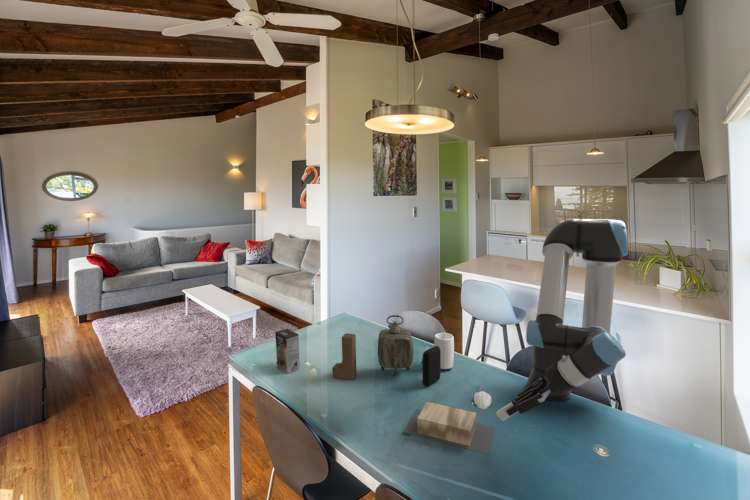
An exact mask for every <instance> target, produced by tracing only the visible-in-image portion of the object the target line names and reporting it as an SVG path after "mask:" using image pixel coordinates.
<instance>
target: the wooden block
mask: <svg viewBox="0 0 750 500" xmlns="http://www.w3.org/2000/svg"><path fill="white" fill-rule="evenodd" d="M356 338H357V337H356V334H354V333H349V332H348V333H344V334H343V335H342V337H341V355H342V356H341V360H342V361H341V362H336V363H335V364H334V365H333V366H332V367H331V368H332V370H331V371H332V378H334V379H339V380H340V379H341V380H348V381H354V379H355V378H356V377H357V347H356V346H357V345H356V344H357V342H356V341H357V339H356Z"/></svg>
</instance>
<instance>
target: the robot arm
mask: <svg viewBox="0 0 750 500" xmlns="http://www.w3.org/2000/svg"><path fill="white" fill-rule="evenodd" d="M628 246H629V244H628V232H627V226H626V224H625V222H624V221H622V220H620V219H619V220H618V219H609V218H608V219H607V218H606V219H605V218H604V219H603V218H601V219H599V218H597V219H596V218H592V219H589V218H584V219H583V218H570V219H566V220H565V221H562V222H560V223H559V224H557V225H556V226H555V227H554V228H553V229H551V230H550V232H549V233H548V234H547V236H546V237H545V239H544V242H543V244H542V252H541V253H542V255H543V256H544V259H543V260H544V261H543V265H542V266H543V268H542V275H541V281H540V282H541V283H540V289H539V295H538V303H537V310H536V318H535V320H528V322H527V325H526V332H525V333H526V335H525V337H526V338H525V339H526V343H527V344H528V345H530V346H532V347H533V361H532V369H531V371H530V374H529V376H528V379H527V382H526V388H524V389H522V391H520V392H519V393H518V394H517V395H516V396H517V397H515V398H514V400H512V401H511V402H509V403H508V404H506V405H504V406H503V407H501V408H499V409H498V410H496V414H495V415H496V416H497V417H498V418H499V420H500V421H501V422H504V421H506V420H507V419H509V418H510V417H513V415H515V414H517V413H519V414H520V415H522V414H524V413H526V412H529V411H530V410H532V409H534V408H537V407H539V406H541V405H546V404H547V403H548V401H555V402H558V401H559V402H561V401H565V400H569V399H570V398H571V397H572V391H573V390H574V389H575V388H576V387H581V386H582V385H583V384H584V383H586V382H587V381H590V380H591V379H592V378H593V377H595V376H599V375H601V376H609V377H610V376H611V375H613V374H614V372H615V370H616V367H617V364H618V363H619V362H620V361H621V360H622V359H624V358H625V357H626V356H627V355H626V354H627V353H626V351H625V349H624V348H623V346H622V344H621V343H620V342H619V341H618V339H616V337H615V336H613V335H612V333H611V325H612V313H613V303H614V301H613V300H614V291H615V279H616V268H617V265H618V264H619V263H621V262H622V261H623V260H622V259H623V257H626V256H628V254H629V251H628V250H629V249H628V248H629V247H628ZM574 253H576V254H577V253H578V254H581V260H582V261H583V262H585V264H586V267H585V280H584V281H585V282H584V294H583V308H582V321H581V327H579V326H573V325H567V324H566V325H565V324H564V319H565V318H564V315H565V306H566V296H567V286H568V277H569V276H568V275H569V269H570V267H569V265H570V259H572V258H573V256H574Z"/></svg>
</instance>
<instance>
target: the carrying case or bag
mask: <svg viewBox="0 0 750 500" xmlns="http://www.w3.org/2000/svg"><path fill="white" fill-rule="evenodd" d="M440 360H441V352H440V348H439V347H438V346H434V345H433V347H431V348H428V349H426V350H425V351H424V352H423V353H422V358H421V365H422V384H423V386H424V387H427V388H428V387H429V386H430V385H433V384H434V383H436V382H438V381H439V380H440V379H441V369H440Z"/></svg>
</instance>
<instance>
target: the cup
mask: <svg viewBox="0 0 750 500" xmlns="http://www.w3.org/2000/svg"><path fill="white" fill-rule="evenodd" d="M454 337H455V336H453V334H451V333H448V332H439V333H436V334H434V341H433V343H434V344H433V347H434V346H438V347H439V348H440V352H441V360H440V370H449V369H452V368H454V361H455V360H454V359H455V358H454V357H455V339H454Z"/></svg>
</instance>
